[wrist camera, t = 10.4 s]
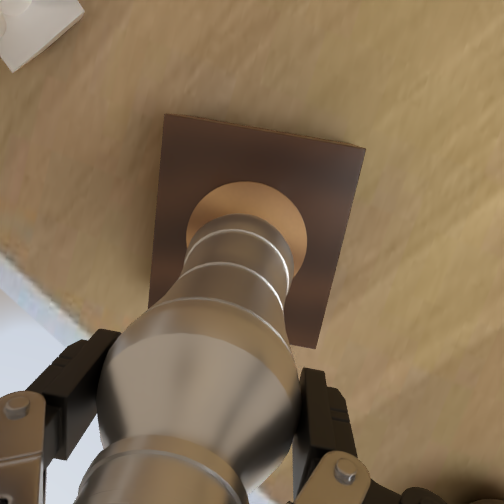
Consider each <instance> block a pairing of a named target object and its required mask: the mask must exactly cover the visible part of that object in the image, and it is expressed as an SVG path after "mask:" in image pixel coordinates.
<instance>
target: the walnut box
mask: <svg viewBox="0 0 504 504" xmlns="http://www.w3.org/2000/svg"><path fill="white" fill-rule="evenodd" d="M365 152H366V149H365V148H362V147H359V146H356V145H353V144H349V143H343V142H337V141H331V140H326V139H320V138H314V137H309V136H303V135H297V134H291V133H286V132H280V131H274V130H268V129H263V128H257V127H251V126H245V125H240V124H234V123H228V122H223V121H217V120H211V119H205V118H200V117H194V116H188V115H177V114H164V126H163V138H162V149H161V161H160V173H159V184H158V196H157V208H156V220H155V231H154V243H153V255H152V267H151V278H150V290H149V302H148V309H149V308H150V307H152V306H153V305H154V304H155V303H156V302H158V301H159V300H160V299H161V298H162V297H163V296H165V294H166V293H167V292H168V291H169V289H170V288H171V287H172V286H173V285H174V283H175V282H176V281H177V280H178V279H179V277H180V275H181V272H182V270H183V267H184V260H185V255H186V252H187V249H188V246H189V244H190V242H191V239H192V238H193V236H194V235H195V234H196V232H197V231H198V230H199V229H200V228H201V227H203V226H204V225H205V224H206V223H208V222H210V221H212V220H214V219H216V218H218V217H221V216H224V215H227V214H234V213H244V214H250V215H254V216H258V217H260V218H262V219H264V220H266V221H268V222H269V223H270V224H272V225H273V226H274V227H275V228H276V229H277V230H278V231H279V232H280V233H281V234H282V236H283V237H284V239H285V241H286V242H287V244H288V245H289V247H290V250H291V253H292V256H293V262H294V274H293V279H292V282H291V286H290V289H289V292H288V294H287V296H286V298H285V304H284V309H283V311H284V321H285V330H286V334H287V337H288V341H289V344H290V345H296V346H301V347H306V348H312V349H316V345H317V342H318V338H319V334H320V330H321V326H322V322H323V318H324V314H325V310H326V306H327V302H328V298H329V294H330V290H331V286H332V282H333V278H334V274H335V270H336V266H337V262H338V258H339V254H340V251H341V247H342V243H343V239H344V235H345V231H346V227H347V223H348V219H349V215H350V211H351V207H352V203H353V199H354V195H355V191H356V187H357V183H358V179H359V175H360V171H361V167H362V163H363V159H364V156H365Z"/></svg>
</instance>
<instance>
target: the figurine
mask: <svg viewBox="0 0 504 504" xmlns="http://www.w3.org/2000/svg"><path fill="white" fill-rule="evenodd" d="M83 14H84V9H83V8H82V6H81V5H80V3H79V2H78V0H0V57H1V58H2V59H3V61H4V62H5V63H6V65H7V66H8V67H9V69H10V70H11V72H12V73H14V72H15V71H17V70H18V69H19V68H21V67H22V66H24V65H25V64H26V63H28V62H29V61H30V60H32V59H33V58H35V57H36V56H37V55H39V54H40V53H42V52H43V51H44V50H45V49H46V48H48V47H49V46H50V45H51V44H52V43H53V42H55V41H56V40H57V39H58V38H59V37H60V36H62V35H63V34H64V33H65V32H66V31H67V30H69V29H70V28H71V27H72V26H73V25H74V24H75V23H77V22H78V21H79V20H80V19H81V18H82V17H83Z"/></svg>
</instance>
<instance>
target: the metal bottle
mask: <svg viewBox="0 0 504 504" xmlns="http://www.w3.org/2000/svg"><path fill="white" fill-rule="evenodd" d="M293 274H294V262H293V256H292V253H291V250H290V247H289V245H288V244H287V242H286V241H285V239H284V237H283V236H282V234H281V233H280V232H279V231H278V230H277V229H276V228H275V227H274V226H273V225H272V224H270V223H269V222H268V221H266V220H264V219H262V218H260V217H258V216H254V215H250V214H244V213H234V214H227V215H224V216H221V217H218V218H216V219H214V220H212V221H210V222H208V223H206V224H205V225H204V226H203V227H201V228H200V229H199V230H198V231H197V232H196V234H195V235H194V236H193V238H192V239H191V242H190V244H189V246H188V249H187V252H186V255H185V260H184V267H183V270H182V272H181V275H180V277H179V279H178V280H177V281H176V282H175V283H174V285H173V286H172V287H171V288H170V289H169V291H168V292H167V293H166V294H165V296H163V297H162V298H161V299H160V300H159V301H158V302H156V303H155V304H154V305H153V306H152V307H150V308H149V309H148V310H147V311H146V312H145V313H143V314H142V315H141V316H140V317H138V318H137V319H136V320H135V321H134V322H133V323H131V324H130V325H129V326H128V327H127V329H126V330H125V331H124V332H123V333H122V334H121V335H120V336H119V337H118V338H117V340H116V341H115V342H114V344H113V345H112V347H111V348H110V349H109V351H108V353H107V356H106V358H105V361H104V363H103V366H102V370H101V374H100V379H99V383H98V388H97V396H96V407H97V414H98V423H99V430H100V438H101V442H102V445H103V449H104V450H102V451H101V452H100V453H99V454H98V456H97V457H96V458H95V459H94V460H93V462H92V463H91V465H90V467H89V468H88V470H87V472H86V474H85V475H84V477H83V479H82V482H81V484H80V486H79V491H78V496H77V498H76V500H75V502H74V503H73V504H249V501H248V495H249V494H250V493H252V492H253V491H254V490H255V489H256V488H257V487H258V486H259V485H260V484H262V483H263V482H264V481H265V480H266V479H267V478H268V477H269V475H270V474H271V473H272V472H273V471H274V470H275V469H276V468H277V467H278V466H279V465H280V464H281V463H282V461H283V459H284V458H285V456H286V455H287V453H288V452H289V449H290V446H291V444H292V441H293V438H294V435H295V432H296V430H297V427H298V424H299V421H300V415H301V409H302V398H301V391H300V385H299V379H298V373H297V368H296V365H295V361H294V358H293V355H292V351H291V348H290V344H289V341H288V337H287V334H286V330H285V321H284V311H283V309H284V304H285V298H286V296H287V294H288V292H289V289H290V286H291V282H292V279H293Z"/></svg>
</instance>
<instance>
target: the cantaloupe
mask: <svg viewBox="0 0 504 504" xmlns="http://www.w3.org/2000/svg"><path fill="white" fill-rule="evenodd" d="M470 504H504V501H503V500H498V499H483V500H478V501H475V502H472V503H470Z"/></svg>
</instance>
